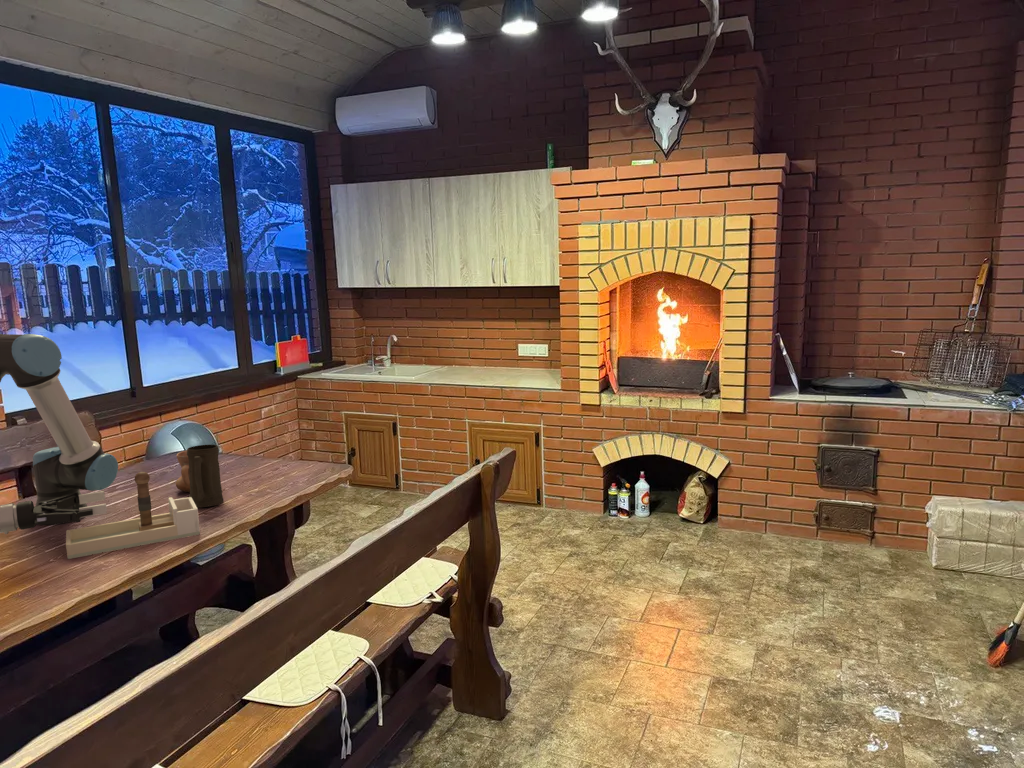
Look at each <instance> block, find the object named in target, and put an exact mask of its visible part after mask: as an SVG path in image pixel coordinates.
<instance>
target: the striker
mask: <svg viewBox="0 0 1024 768" xmlns="http://www.w3.org/2000/svg"><path fill="white" fill-rule="evenodd" d="M150 479H151V478H150V474H149V473H148V472H146V471H139V472H137V473H136V474H135V476H134V482H135V483H136V488H137V507H138V511H139V518H140V520H141V522H139V531H144V530H149V529H155V528H161V527H166V526H172V525H174V520H173V517H168V518H162V519H156V520H152V516H153V515H152V500H151V498H152V497H151V494H150V488H149V485H150V484H149V482H150Z"/></svg>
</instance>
